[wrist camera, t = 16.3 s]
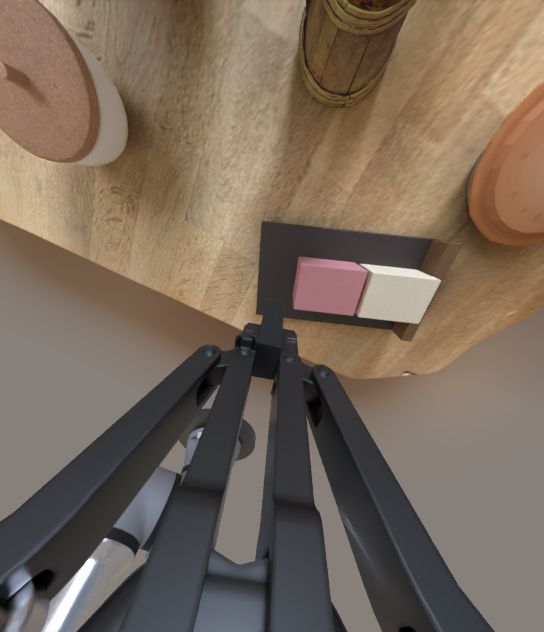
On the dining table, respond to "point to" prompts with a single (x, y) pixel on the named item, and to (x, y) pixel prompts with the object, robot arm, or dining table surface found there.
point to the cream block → (395, 294)
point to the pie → (512, 178)
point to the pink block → (328, 285)
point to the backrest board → (342, 245)
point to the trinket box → (56, 90)
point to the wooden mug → (347, 46)
